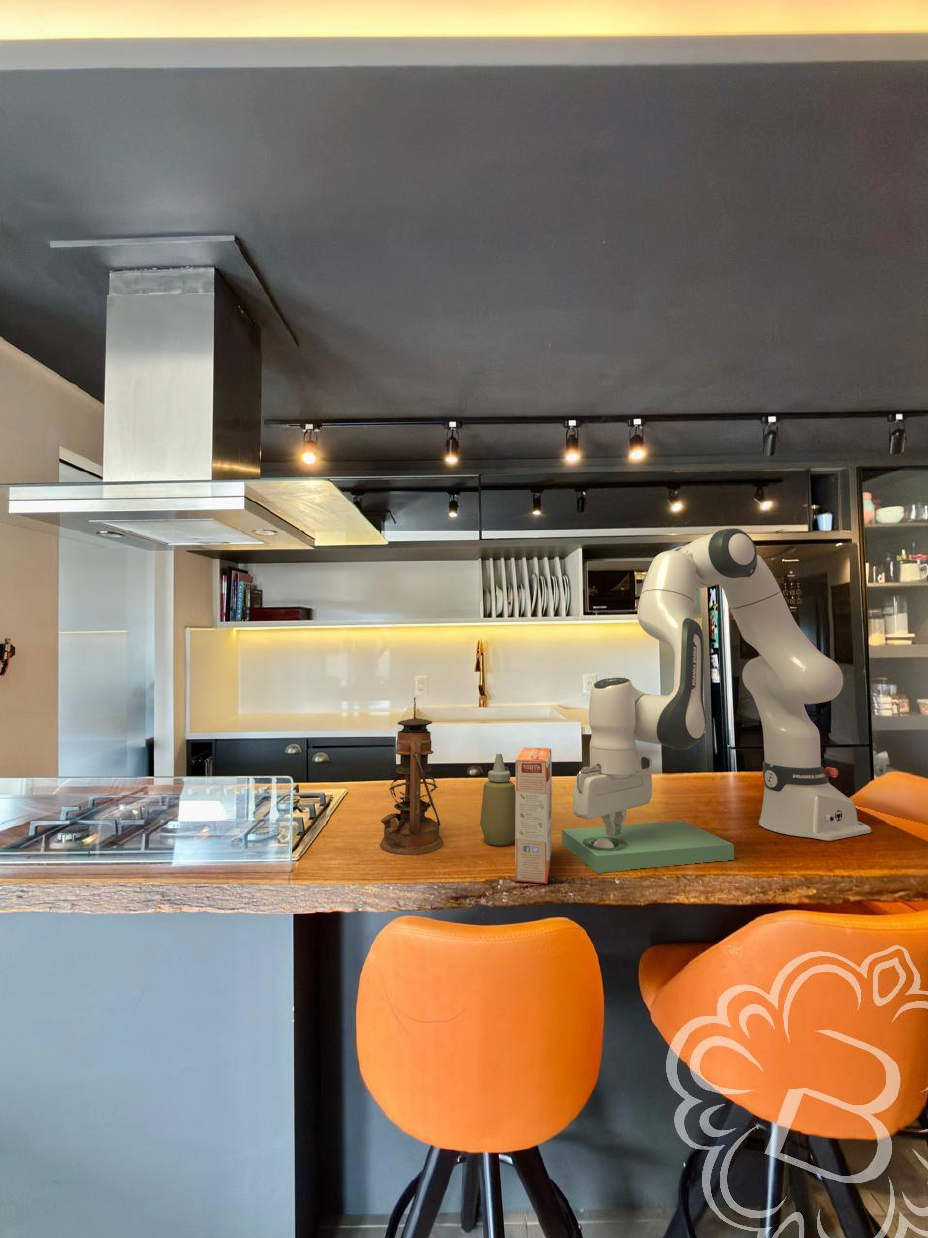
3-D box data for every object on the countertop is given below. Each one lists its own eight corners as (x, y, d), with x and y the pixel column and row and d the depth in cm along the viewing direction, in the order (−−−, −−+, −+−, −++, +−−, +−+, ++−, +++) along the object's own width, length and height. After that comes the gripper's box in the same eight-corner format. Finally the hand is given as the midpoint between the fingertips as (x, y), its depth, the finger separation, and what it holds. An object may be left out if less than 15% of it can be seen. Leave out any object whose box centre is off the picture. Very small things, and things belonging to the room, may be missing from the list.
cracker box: (549, 885, 96) (548, 759, 98) (514, 882, 97) (513, 758, 99) (553, 856, 110) (552, 746, 111) (522, 854, 111) (521, 745, 112)
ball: (604, 830, 110) (592, 838, 107) (621, 844, 108) (610, 853, 105) (597, 845, 112) (586, 854, 109) (614, 859, 109) (603, 868, 106)
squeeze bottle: (526, 841, 119) (526, 754, 120) (502, 851, 113) (501, 759, 114) (497, 833, 124) (496, 749, 126) (472, 842, 119) (471, 754, 120)
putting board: (683, 834, 123) (683, 820, 123) (734, 860, 108) (733, 844, 108) (562, 844, 117) (561, 829, 117) (597, 873, 101) (596, 855, 102)
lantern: (379, 832, 125) (380, 695, 127) (438, 829, 127) (438, 694, 129) (380, 860, 108) (381, 700, 110) (448, 856, 110) (448, 700, 112)
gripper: (591, 770, 102) (592, 849, 101) (657, 758, 115) (658, 828, 114) (564, 765, 107) (565, 840, 106) (630, 754, 120) (632, 821, 119)
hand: (614, 834), depth 110 cm, fingers closed
